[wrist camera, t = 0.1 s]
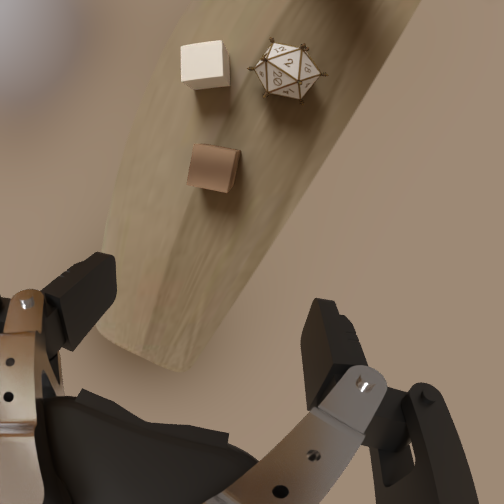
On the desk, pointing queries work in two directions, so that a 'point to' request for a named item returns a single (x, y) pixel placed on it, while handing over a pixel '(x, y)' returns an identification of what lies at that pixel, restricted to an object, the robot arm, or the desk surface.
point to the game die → (287, 71)
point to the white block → (205, 65)
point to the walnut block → (213, 167)
